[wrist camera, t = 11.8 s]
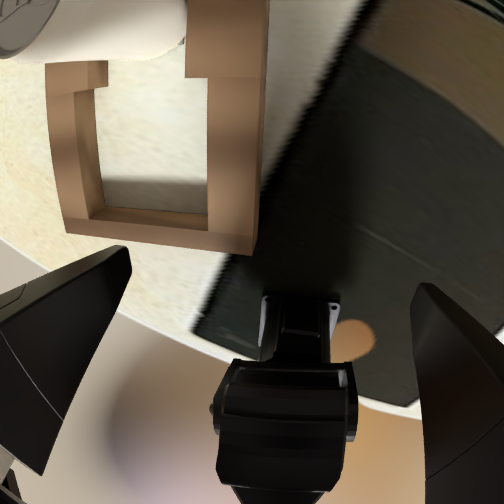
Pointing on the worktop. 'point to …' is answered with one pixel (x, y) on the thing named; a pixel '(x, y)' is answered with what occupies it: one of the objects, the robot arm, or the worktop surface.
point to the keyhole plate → (218, 136)
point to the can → (89, 29)
